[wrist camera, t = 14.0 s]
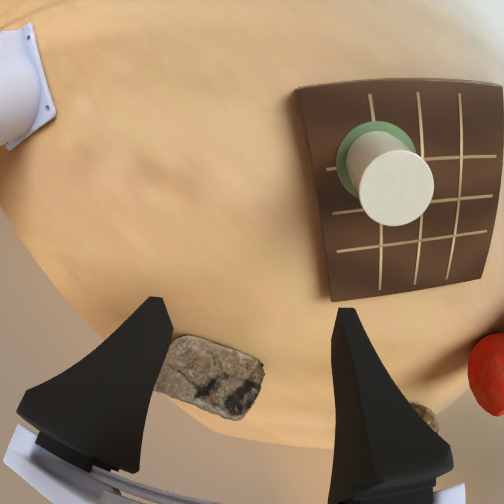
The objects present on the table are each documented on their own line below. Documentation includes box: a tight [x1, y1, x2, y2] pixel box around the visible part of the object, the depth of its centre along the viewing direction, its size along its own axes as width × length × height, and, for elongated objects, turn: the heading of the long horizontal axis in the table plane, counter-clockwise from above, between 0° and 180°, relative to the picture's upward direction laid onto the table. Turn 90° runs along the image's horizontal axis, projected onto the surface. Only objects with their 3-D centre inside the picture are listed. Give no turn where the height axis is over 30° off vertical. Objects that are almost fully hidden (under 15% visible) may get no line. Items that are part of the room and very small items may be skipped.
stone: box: [153, 335, 265, 421], centre depth 29 cm, size 7×12×7 cm, turn 76°
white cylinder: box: [346, 131, 434, 226], centre depth 14 cm, size 4×4×4 cm
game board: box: [296, 78, 504, 302], centre depth 17 cm, size 16×14×1 cm
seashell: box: [411, 404, 439, 434], centre depth 34 cm, size 11×9×8 cm
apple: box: [468, 333, 504, 417], centre depth 21 cm, size 8×8×11 cm
